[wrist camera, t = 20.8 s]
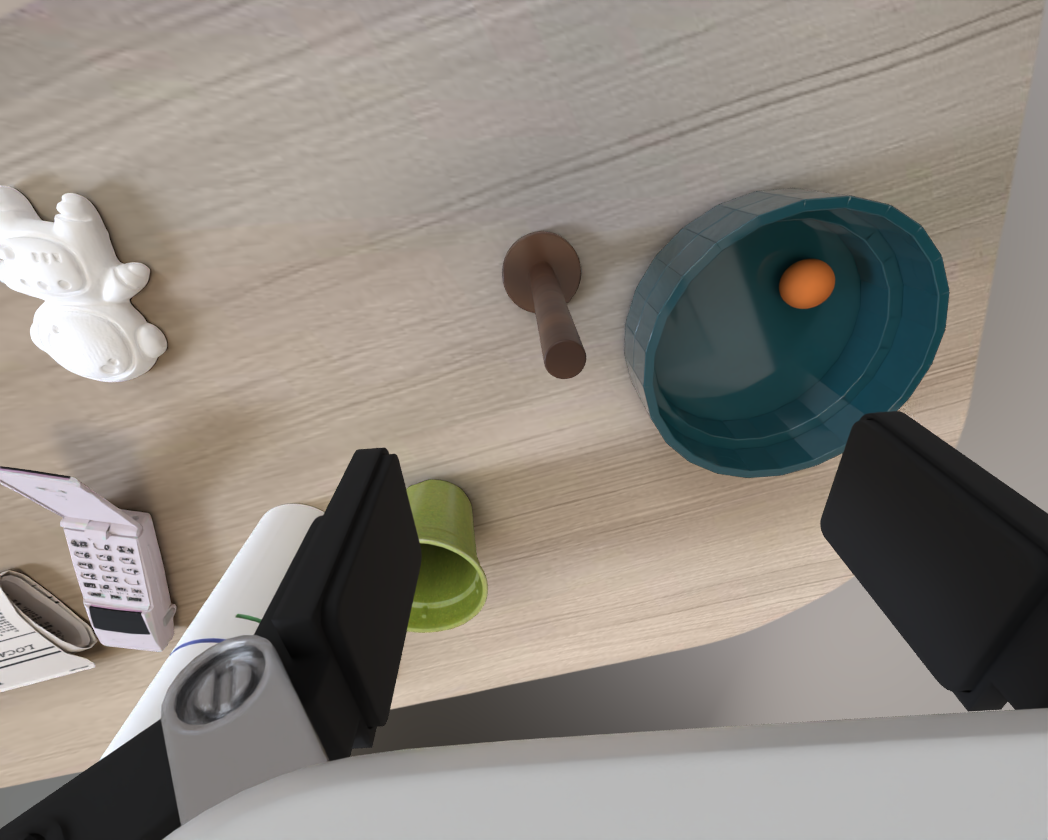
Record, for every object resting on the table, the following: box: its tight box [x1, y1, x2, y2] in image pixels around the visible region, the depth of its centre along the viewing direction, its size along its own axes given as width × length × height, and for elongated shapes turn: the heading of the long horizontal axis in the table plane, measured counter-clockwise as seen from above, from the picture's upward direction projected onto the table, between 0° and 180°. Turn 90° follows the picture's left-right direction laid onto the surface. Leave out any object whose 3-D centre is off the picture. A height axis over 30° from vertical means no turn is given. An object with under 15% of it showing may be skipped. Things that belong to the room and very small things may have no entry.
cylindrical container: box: [99, 504, 325, 761], centre depth 30 cm, size 7×7×25 cm
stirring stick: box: [502, 231, 586, 379], centre depth 24 cm, size 5×5×15 cm
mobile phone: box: [0, 466, 177, 652], centre depth 39 cm, size 6×6×25 cm
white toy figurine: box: [0, 186, 167, 382], centre depth 29 cm, size 9×12×3 cm
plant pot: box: [406, 480, 488, 633], centre depth 36 cm, size 9×9×9 cm
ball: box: [779, 259, 835, 309], centre depth 29 cm, size 3×3×3 cm
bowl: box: [624, 188, 949, 478], centre depth 30 cm, size 17×17×6 cm
